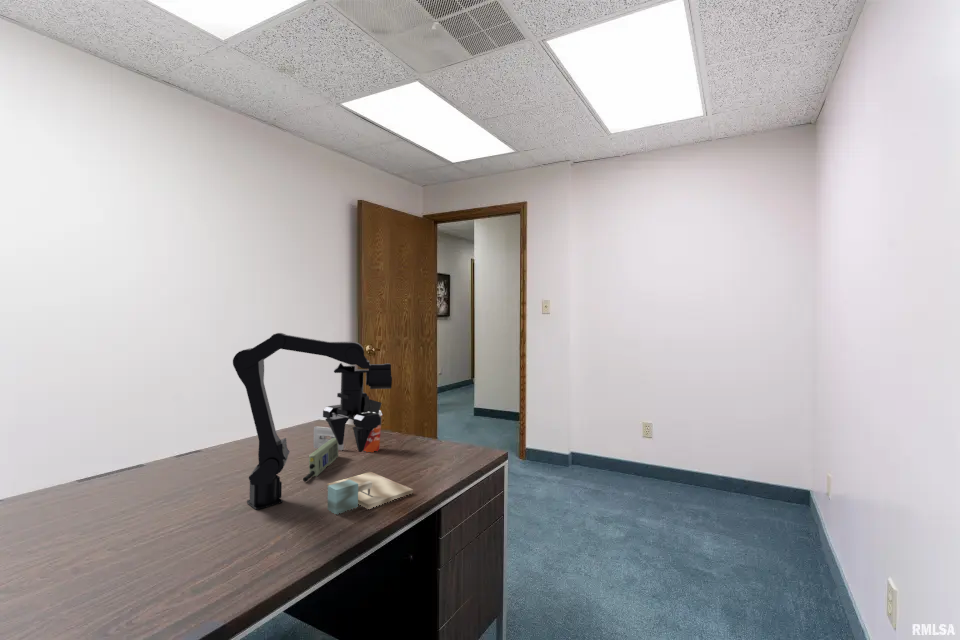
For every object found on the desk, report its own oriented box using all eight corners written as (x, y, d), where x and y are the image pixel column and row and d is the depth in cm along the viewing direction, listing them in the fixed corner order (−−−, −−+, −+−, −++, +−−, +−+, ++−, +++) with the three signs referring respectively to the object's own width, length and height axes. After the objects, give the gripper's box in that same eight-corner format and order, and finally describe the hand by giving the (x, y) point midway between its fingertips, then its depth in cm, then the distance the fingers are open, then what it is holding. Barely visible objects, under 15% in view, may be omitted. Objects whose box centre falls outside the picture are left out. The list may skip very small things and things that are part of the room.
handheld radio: (340, 457, 153) (311, 484, 128) (330, 457, 153) (299, 484, 128) (339, 437, 153) (310, 460, 128) (330, 437, 153) (298, 461, 128)
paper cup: (369, 454, 155) (370, 414, 155) (355, 450, 160) (356, 411, 160) (387, 449, 161) (387, 410, 161) (373, 445, 166) (373, 408, 166)
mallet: (335, 515, 107) (336, 490, 107) (327, 510, 110) (327, 485, 110) (374, 501, 116) (375, 478, 115) (366, 497, 118) (366, 474, 118)
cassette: (344, 450, 160) (344, 428, 160) (341, 451, 159) (341, 429, 159) (315, 447, 164) (315, 426, 164) (312, 448, 162) (312, 427, 162)
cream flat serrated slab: (368, 509, 111) (368, 504, 111) (327, 488, 124) (327, 483, 124) (412, 493, 121) (412, 489, 121) (370, 475, 134) (370, 471, 134)
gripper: (398, 390, 119) (397, 449, 119) (357, 382, 131) (355, 436, 131) (363, 395, 111) (361, 458, 111) (322, 386, 123) (321, 443, 123)
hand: (350, 448), depth 119 cm, fingers open, 9 cm apart
